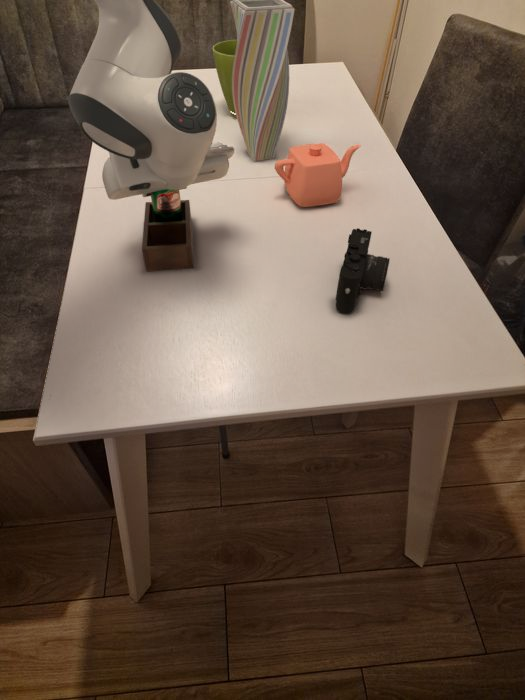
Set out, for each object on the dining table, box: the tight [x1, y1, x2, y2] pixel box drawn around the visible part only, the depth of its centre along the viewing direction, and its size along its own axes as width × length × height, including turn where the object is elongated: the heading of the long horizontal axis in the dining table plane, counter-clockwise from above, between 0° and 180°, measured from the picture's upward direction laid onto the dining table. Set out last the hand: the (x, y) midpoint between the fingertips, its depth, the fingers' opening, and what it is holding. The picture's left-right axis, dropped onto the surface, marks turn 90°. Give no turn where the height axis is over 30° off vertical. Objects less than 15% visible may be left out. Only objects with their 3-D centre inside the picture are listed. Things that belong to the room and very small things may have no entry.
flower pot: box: [212, 39, 237, 119], centre depth 126 cm, size 15×15×16 cm
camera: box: [335, 227, 390, 315], centre depth 77 cm, size 14×7×8 cm, turn 164°
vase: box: [230, 0, 295, 162], centre depth 104 cm, size 14×14×30 cm
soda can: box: [150, 189, 183, 223], centre depth 85 cm, size 5×5×12 cm
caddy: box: [141, 199, 195, 272], centre depth 87 cm, size 8×15×4 cm, turn 7°
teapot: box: [274, 142, 362, 208], centre depth 98 cm, size 12×18×10 cm, turn 106°
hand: (163, 188), depth 85 cm, fingers closed on soda can, 5 cm apart
